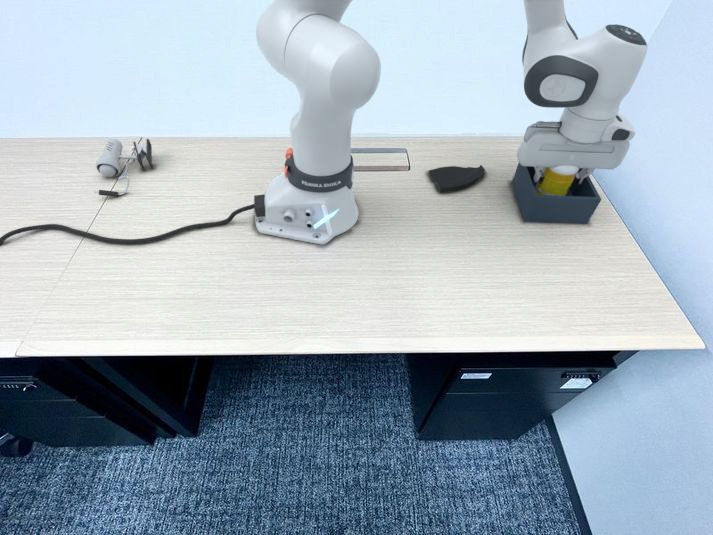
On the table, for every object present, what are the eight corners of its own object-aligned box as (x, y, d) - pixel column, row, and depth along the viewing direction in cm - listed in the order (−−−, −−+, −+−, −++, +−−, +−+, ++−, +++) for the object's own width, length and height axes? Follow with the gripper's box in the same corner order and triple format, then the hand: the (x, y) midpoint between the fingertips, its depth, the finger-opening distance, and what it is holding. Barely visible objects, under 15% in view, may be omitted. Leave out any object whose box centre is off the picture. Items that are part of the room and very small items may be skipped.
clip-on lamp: (146, 205, 94) (158, 149, 103) (137, 188, 89) (149, 130, 97) (93, 205, 93) (108, 147, 101) (79, 187, 87) (97, 128, 95)
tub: (523, 221, 87) (534, 197, 82) (511, 183, 96) (520, 158, 90) (586, 224, 86) (601, 199, 81) (568, 185, 95) (580, 160, 90)
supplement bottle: (563, 210, 88) (589, 160, 78) (532, 205, 89) (554, 155, 79) (560, 191, 92) (585, 142, 82) (531, 187, 93) (552, 137, 84)
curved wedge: (492, 186, 95) (494, 180, 94) (438, 194, 93) (439, 188, 92) (477, 165, 100) (479, 160, 99) (426, 172, 98) (427, 167, 97)
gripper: (533, 129, 74) (511, 188, 85) (644, 133, 74) (608, 192, 84) (525, 112, 78) (505, 171, 89) (631, 116, 78) (598, 174, 88)
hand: (556, 181), depth 87 cm, fingers open, 7 cm apart
